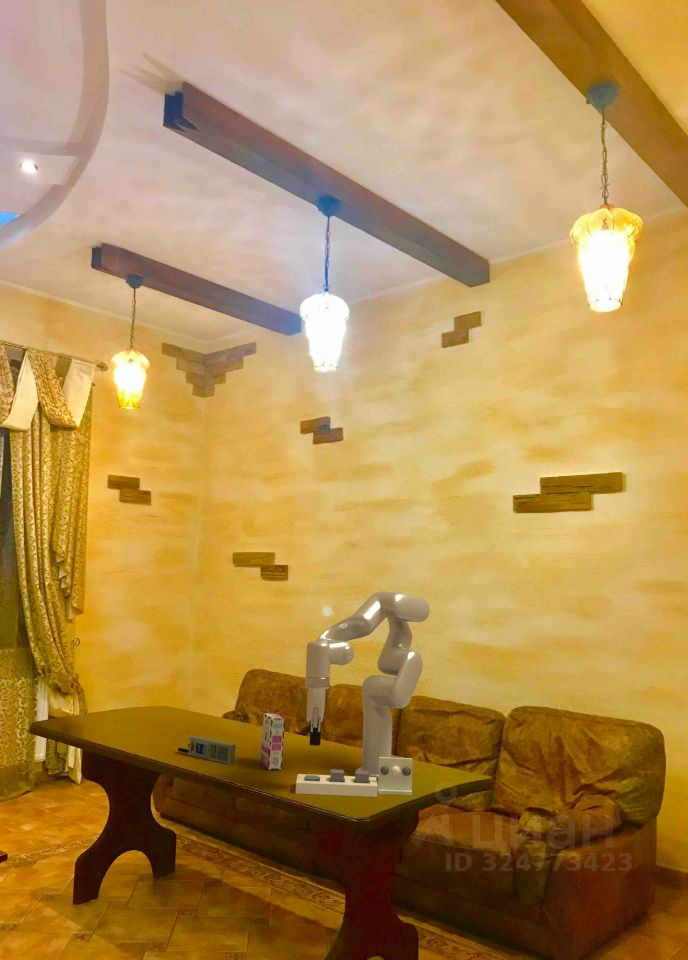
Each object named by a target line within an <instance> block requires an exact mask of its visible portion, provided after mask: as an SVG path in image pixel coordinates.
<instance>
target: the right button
mask: <svg viewBox="0 0 688 960" xmlns="http://www.w3.org/2000/svg"><path fill="white" fill-rule="evenodd" d="M354 776H355V783H369V771H358V770H357V769H356V770H355V773H354Z"/></svg>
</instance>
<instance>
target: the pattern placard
mask: <svg viewBox="0 0 688 960" xmlns="http://www.w3.org/2000/svg"><path fill="white" fill-rule="evenodd" d="M377 780H378V781H377V785H378V792H377V795H393V796H394V795H395V796H397V795H398V796H413V789H412V788H413V758H412V757H410V758H407V757H392V756H391V757H379V778H378V779H377Z"/></svg>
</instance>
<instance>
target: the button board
mask: <svg viewBox="0 0 688 960" xmlns="http://www.w3.org/2000/svg"><path fill="white" fill-rule="evenodd" d="M306 775H310V774H303V773H298V774H297V777H296V782H295V794H300V795H325V796H347V797H367V798H372V797H373V798H378V781H377V780H378V779H376V777H369V783H355V775H354V776H350V775H344V782H330V775H331V774H330V775H329V774H326V775H325V774H315V775H316V776H319V781H305V777H306Z"/></svg>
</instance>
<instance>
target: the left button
mask: <svg viewBox="0 0 688 960" xmlns="http://www.w3.org/2000/svg"><path fill="white" fill-rule="evenodd" d="M316 775H317V774H309V775H306V777H305V781H319V776H316Z"/></svg>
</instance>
